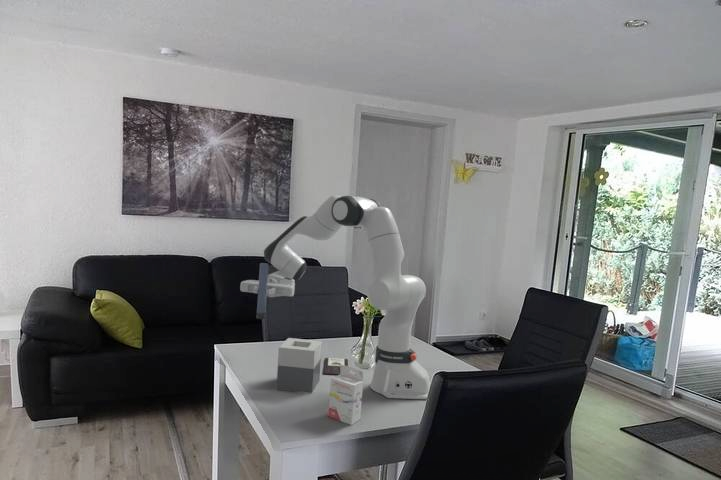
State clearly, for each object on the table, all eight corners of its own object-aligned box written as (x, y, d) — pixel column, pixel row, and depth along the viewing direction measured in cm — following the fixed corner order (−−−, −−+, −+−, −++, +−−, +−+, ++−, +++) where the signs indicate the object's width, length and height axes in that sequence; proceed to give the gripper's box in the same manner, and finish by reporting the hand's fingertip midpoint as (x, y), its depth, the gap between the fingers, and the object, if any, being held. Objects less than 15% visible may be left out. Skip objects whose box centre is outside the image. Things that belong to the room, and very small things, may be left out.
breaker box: (319, 380, 171) (321, 341, 170) (312, 393, 159) (314, 351, 158) (286, 376, 172) (288, 337, 171) (276, 389, 161) (278, 347, 160)
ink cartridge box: (327, 417, 142) (330, 367, 141) (337, 411, 146) (340, 363, 145) (351, 425, 138) (355, 374, 137) (361, 419, 142) (364, 370, 141)
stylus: (266, 317, 179) (269, 263, 178) (263, 319, 176) (267, 264, 175) (258, 316, 180) (261, 262, 178) (255, 318, 177) (258, 264, 175)
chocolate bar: (323, 373, 177) (325, 357, 195) (323, 375, 177) (325, 360, 195) (348, 374, 178) (347, 359, 196) (347, 377, 178) (347, 361, 196)
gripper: (247, 274, 191) (234, 280, 177) (298, 279, 189) (289, 285, 175) (246, 290, 191) (233, 297, 178) (297, 296, 189) (288, 303, 175)
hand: (261, 291), depth 176 cm, fingers closed on stylus, 3 cm apart
